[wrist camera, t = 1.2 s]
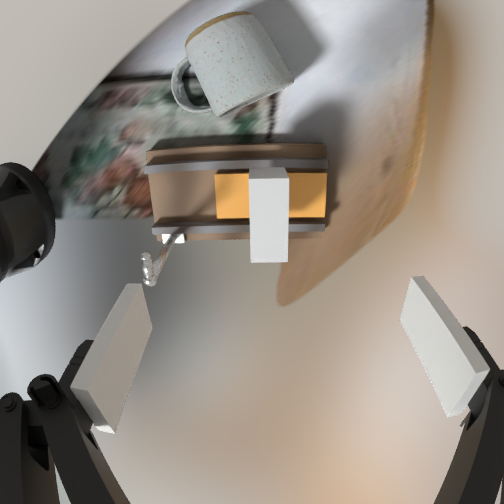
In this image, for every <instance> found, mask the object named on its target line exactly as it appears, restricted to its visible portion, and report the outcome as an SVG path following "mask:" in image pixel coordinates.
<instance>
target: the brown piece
mask: <svg viewBox="0 0 504 504" xmlns="http://www.w3.org/2000/svg"><path fill="white" fill-rule="evenodd" d="M146 156H147V165H145V166H144V174H148V175H149V184H150V192H151V200H152V207H153V214H154V221H155V224H154V225H153V227H152V233H153V235H157V241H163V237H162V234H184V235H185V240H228V239H250V218H221V219H217V209H216V194H215V178H214V174H215V173H245V172H249V168H254V167H284V168H285V170H286V172H326V169H328V164H329V160H327V159H326V145H325V144H317V143H240V144H216V145H198V146H184V147H171V148H160V149H151V150H149V151H147V152H146ZM322 231H325V223H324V221H323V217H289V223H288V239H290V238H322Z"/></svg>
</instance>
